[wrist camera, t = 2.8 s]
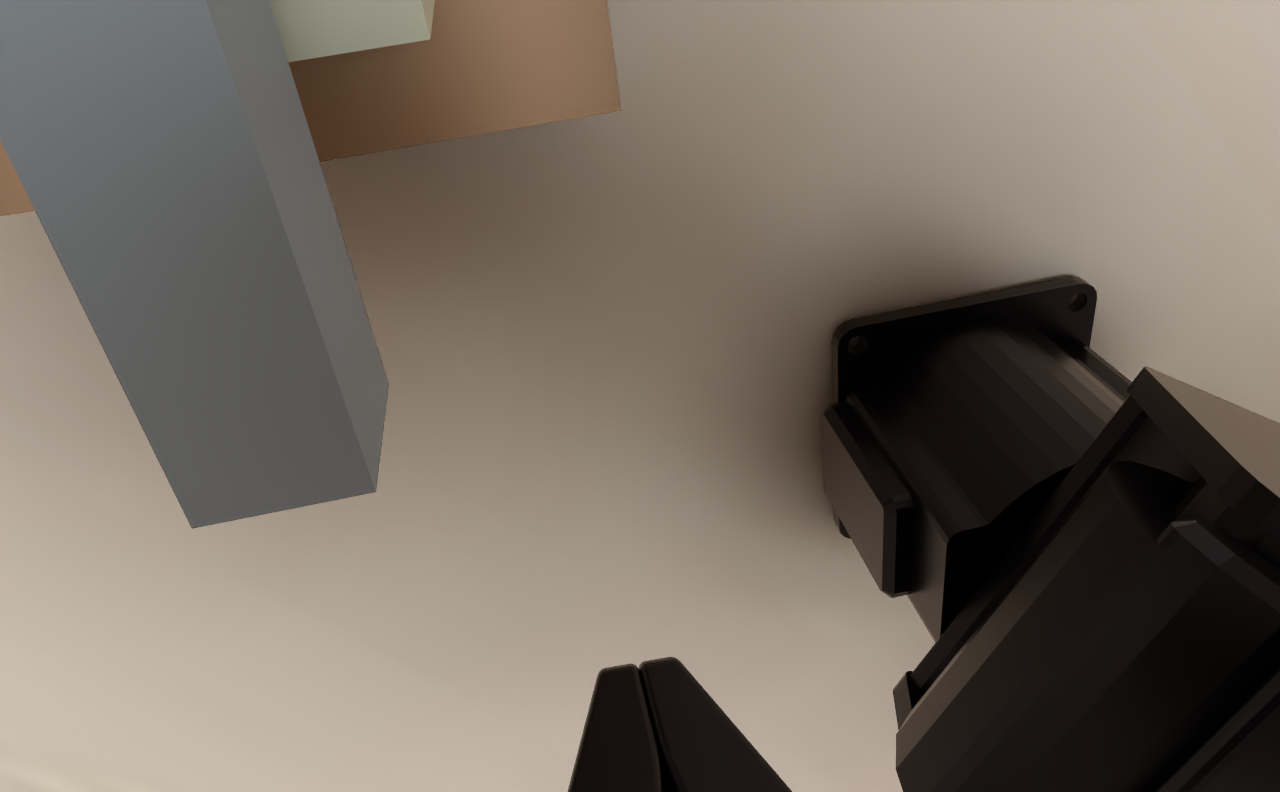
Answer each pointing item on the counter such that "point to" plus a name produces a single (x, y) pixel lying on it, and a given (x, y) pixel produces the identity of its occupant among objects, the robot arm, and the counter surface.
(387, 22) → the pale green carton
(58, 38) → the latch bar
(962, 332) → the robot arm
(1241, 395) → the counter surface
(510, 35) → the brown box
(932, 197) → the counter surface
